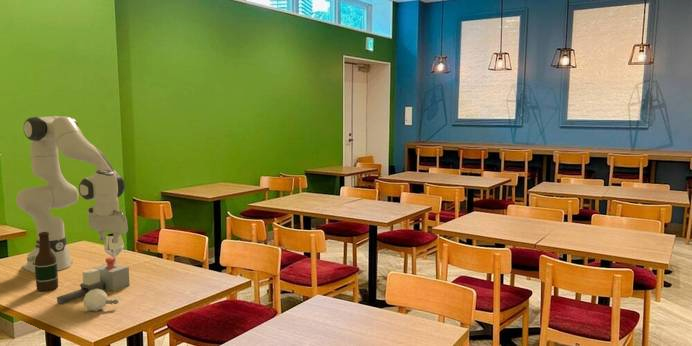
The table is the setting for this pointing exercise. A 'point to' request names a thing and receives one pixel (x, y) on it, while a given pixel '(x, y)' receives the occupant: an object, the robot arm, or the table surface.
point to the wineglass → (113, 246)
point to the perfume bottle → (97, 300)
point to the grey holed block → (114, 276)
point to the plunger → (110, 262)
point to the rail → (73, 295)
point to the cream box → (91, 280)
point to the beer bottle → (45, 266)
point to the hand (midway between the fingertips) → (109, 241)
